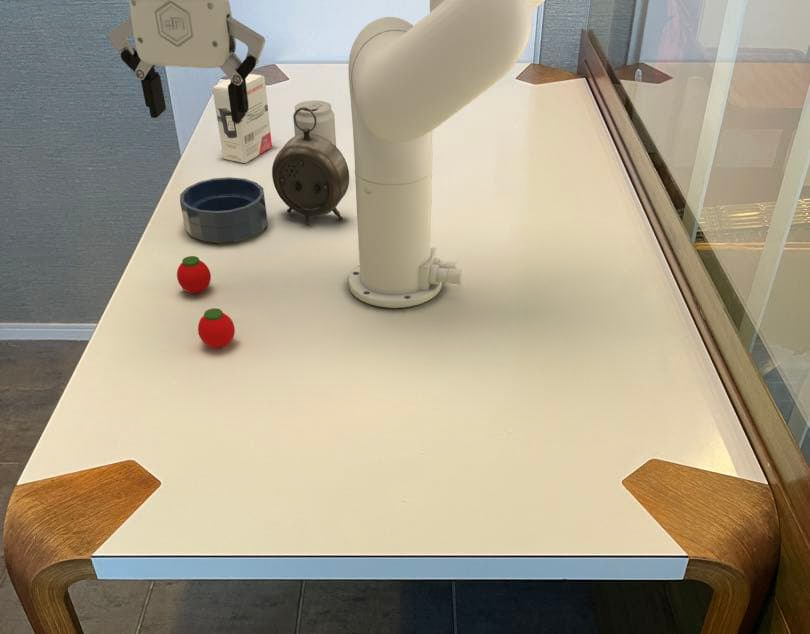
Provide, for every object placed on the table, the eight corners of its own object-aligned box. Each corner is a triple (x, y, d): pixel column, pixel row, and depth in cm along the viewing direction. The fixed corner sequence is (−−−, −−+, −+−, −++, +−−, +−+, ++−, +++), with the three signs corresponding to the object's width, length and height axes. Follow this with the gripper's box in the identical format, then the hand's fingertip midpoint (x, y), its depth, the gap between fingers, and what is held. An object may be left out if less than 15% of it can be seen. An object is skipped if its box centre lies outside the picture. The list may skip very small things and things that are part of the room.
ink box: (250, 142, 153) (241, 70, 145) (273, 147, 152) (265, 74, 143) (222, 159, 148) (210, 85, 140) (245, 164, 146) (235, 89, 138)
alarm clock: (352, 216, 131) (346, 104, 120) (340, 232, 128) (333, 117, 116) (286, 208, 134) (274, 97, 122) (273, 223, 130) (259, 110, 119)
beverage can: (292, 187, 139) (284, 109, 131) (313, 173, 143) (306, 96, 135) (325, 194, 137) (319, 115, 129) (345, 180, 141) (341, 102, 133)
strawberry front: (242, 337, 107) (237, 305, 104) (229, 356, 104) (223, 324, 101) (209, 334, 108) (203, 301, 105) (195, 352, 105) (188, 320, 102)
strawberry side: (218, 284, 117) (212, 253, 114) (205, 300, 114) (199, 269, 111) (188, 281, 118) (181, 250, 115) (175, 297, 115) (168, 266, 111)
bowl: (278, 213, 133) (274, 181, 129) (251, 249, 124) (246, 216, 121) (205, 206, 135) (199, 174, 131) (173, 241, 126) (166, 208, 123)
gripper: (73, -58, 85) (114, 123, 97) (242, -52, 83) (262, 132, 95) (104, -73, 90) (139, 101, 102) (263, -67, 88) (280, 109, 100)
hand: (198, 116), depth 99 cm, fingers open, 9 cm apart
